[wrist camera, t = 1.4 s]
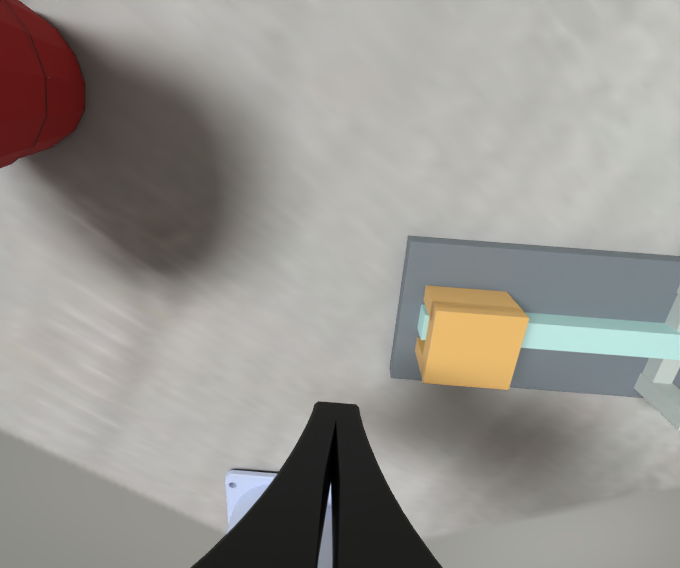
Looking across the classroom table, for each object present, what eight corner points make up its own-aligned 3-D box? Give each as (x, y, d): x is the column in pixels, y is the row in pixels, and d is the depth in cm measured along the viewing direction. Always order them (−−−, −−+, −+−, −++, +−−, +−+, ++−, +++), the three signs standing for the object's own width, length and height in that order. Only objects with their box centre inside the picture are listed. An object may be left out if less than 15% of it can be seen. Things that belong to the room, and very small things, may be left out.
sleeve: (489, 356, 21) (508, 389, 18) (414, 350, 21) (423, 383, 18) (506, 291, 19) (529, 317, 17) (425, 285, 19) (436, 310, 17)
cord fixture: (732, 394, 23) (809, 451, 19) (389, 367, 23) (396, 417, 19) (806, 265, 20) (916, 301, 16) (408, 235, 20) (421, 264, 16)
